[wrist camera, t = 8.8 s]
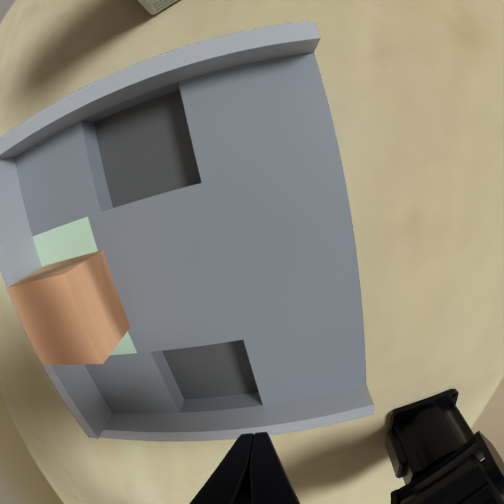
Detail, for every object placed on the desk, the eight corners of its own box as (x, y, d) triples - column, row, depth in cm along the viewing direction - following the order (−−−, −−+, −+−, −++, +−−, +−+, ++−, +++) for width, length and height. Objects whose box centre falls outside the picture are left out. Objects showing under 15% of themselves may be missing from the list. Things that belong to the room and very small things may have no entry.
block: (102, 249, 16) (64, 273, 12) (130, 326, 18) (103, 363, 14) (45, 265, 17) (7, 288, 13) (72, 333, 18) (42, 364, 14)
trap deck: (304, 49, 15) (317, 11, 10) (359, 377, 20) (377, 425, 16) (22, 148, 17) (-27, 151, 12) (116, 405, 22) (94, 445, 18)
